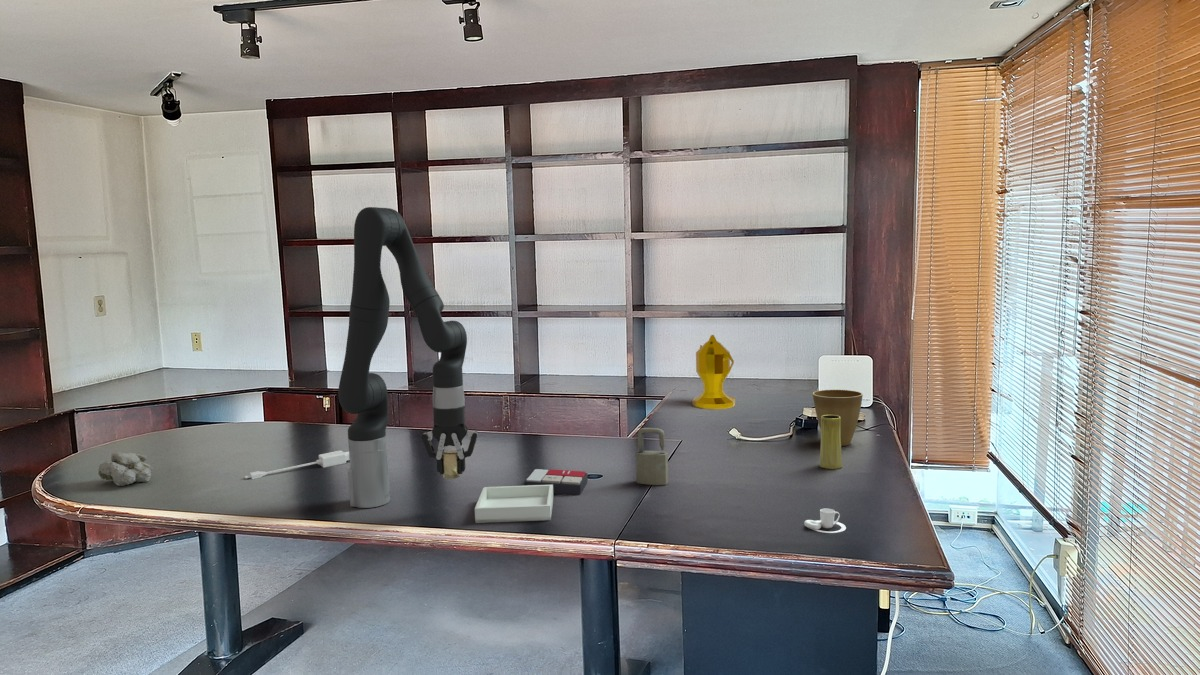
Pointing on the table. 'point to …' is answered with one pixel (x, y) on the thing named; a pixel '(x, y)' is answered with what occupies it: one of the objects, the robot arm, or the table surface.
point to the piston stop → (450, 464)
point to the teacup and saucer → (825, 521)
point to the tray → (514, 504)
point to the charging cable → (324, 461)
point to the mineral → (125, 469)
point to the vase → (830, 442)
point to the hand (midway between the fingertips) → (451, 473)
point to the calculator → (559, 480)
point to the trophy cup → (713, 375)
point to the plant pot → (839, 409)
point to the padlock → (651, 461)
